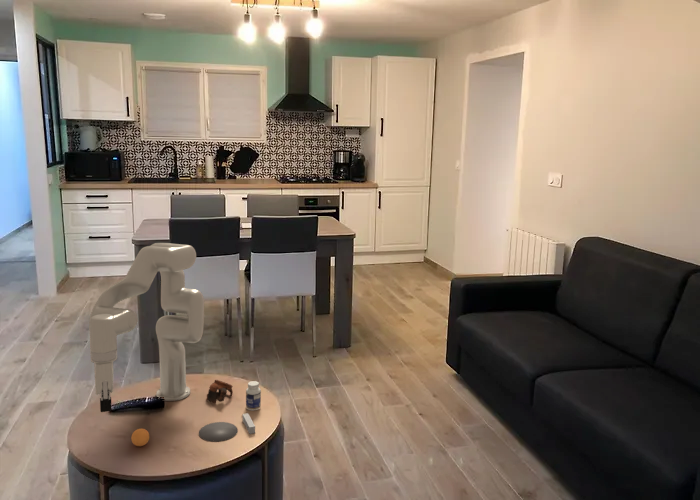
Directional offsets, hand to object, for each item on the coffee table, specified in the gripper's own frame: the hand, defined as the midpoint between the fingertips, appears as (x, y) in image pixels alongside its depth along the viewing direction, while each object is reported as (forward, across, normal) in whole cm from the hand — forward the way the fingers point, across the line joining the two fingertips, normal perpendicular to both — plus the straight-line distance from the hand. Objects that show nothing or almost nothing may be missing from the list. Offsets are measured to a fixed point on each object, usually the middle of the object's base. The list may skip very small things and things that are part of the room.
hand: (106, 410), depth 179 cm
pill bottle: (+13, -14, +50) cm, 54 cm away
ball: (+11, -1, +10) cm, 15 cm away
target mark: (+14, -1, +35) cm, 37 cm away
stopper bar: (+13, -1, +45) cm, 47 cm away
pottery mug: (+14, -25, +40) cm, 49 cm away
